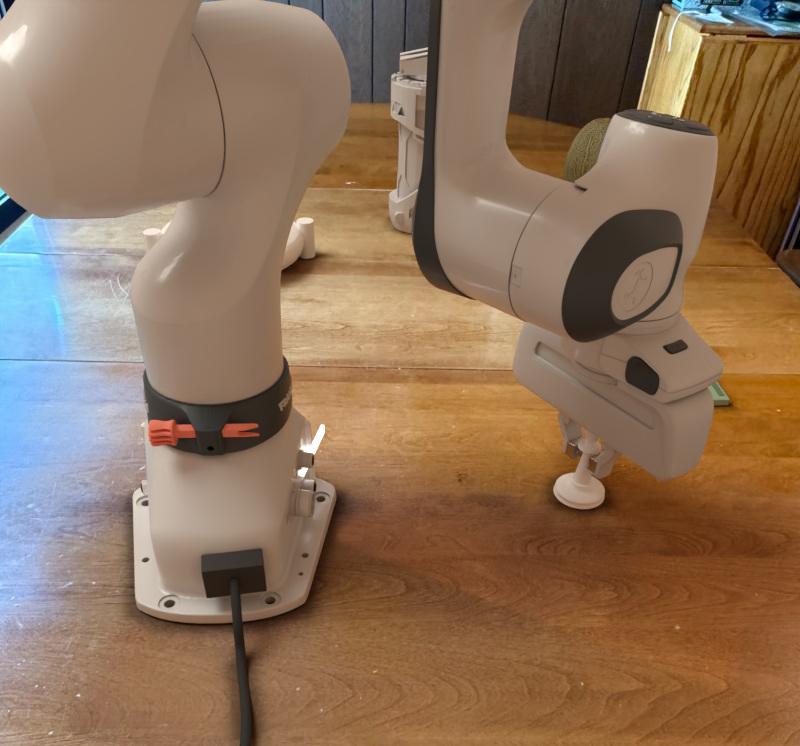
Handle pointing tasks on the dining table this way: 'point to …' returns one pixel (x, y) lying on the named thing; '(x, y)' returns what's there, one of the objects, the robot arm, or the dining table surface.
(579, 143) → the fruit
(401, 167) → the lantern
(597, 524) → the dining table surface
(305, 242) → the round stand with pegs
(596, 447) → the chess piece
